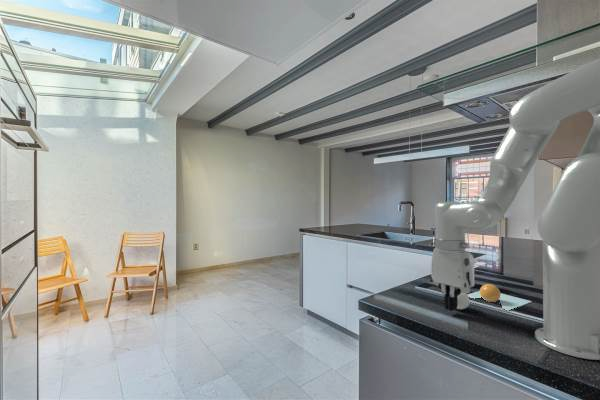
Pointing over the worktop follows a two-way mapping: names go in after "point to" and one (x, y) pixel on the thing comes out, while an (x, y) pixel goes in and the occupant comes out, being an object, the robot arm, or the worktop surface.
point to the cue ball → (463, 301)
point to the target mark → (505, 300)
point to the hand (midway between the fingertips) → (450, 308)
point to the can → (472, 267)
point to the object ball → (490, 293)
